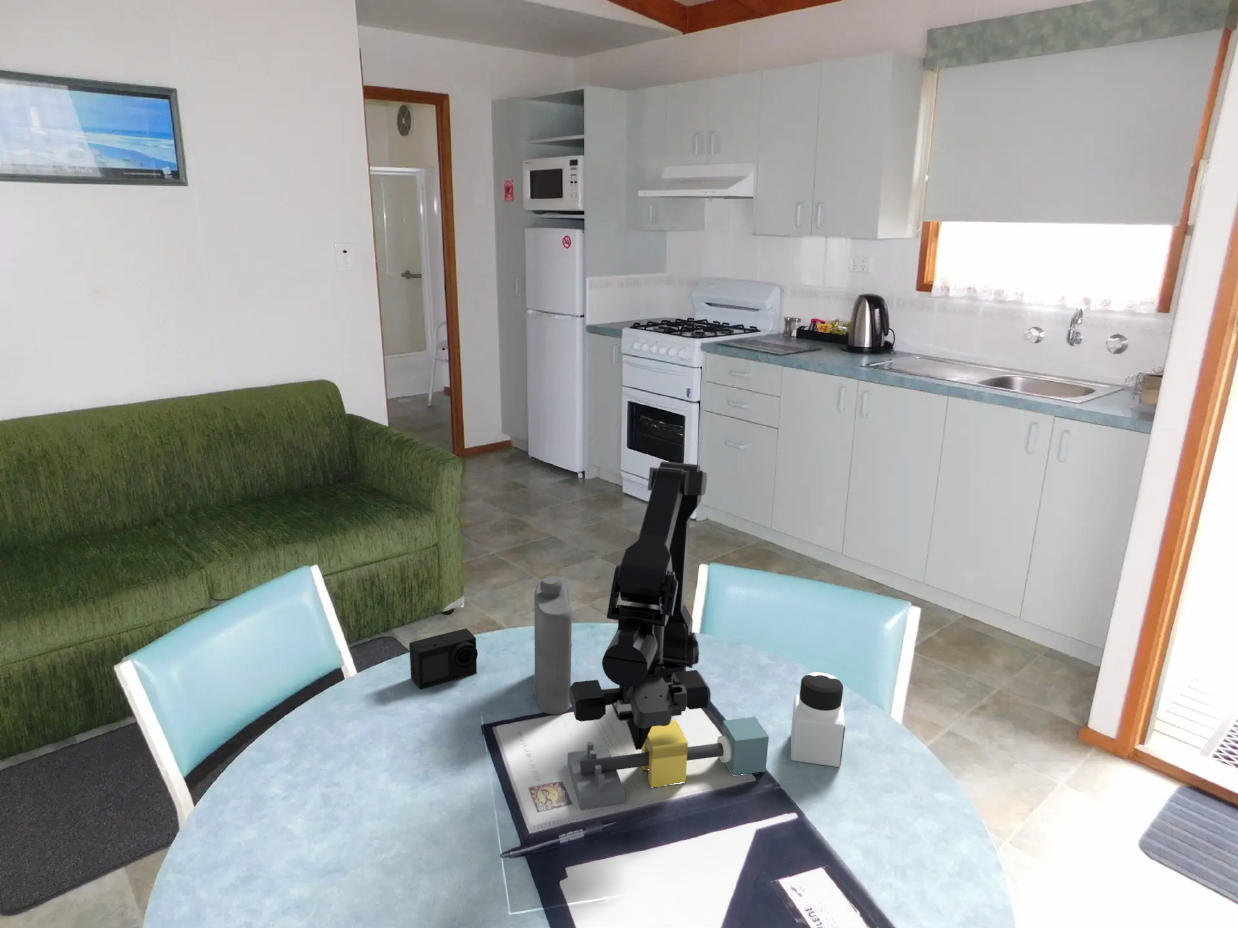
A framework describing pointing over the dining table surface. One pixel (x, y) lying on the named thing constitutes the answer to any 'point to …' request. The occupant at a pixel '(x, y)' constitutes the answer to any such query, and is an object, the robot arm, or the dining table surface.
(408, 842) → the dining table surface
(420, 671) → the digital camera
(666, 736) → the sleeve
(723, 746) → the dark grey rod
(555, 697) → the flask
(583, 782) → the grey pronged block
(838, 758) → the medicine bottle
